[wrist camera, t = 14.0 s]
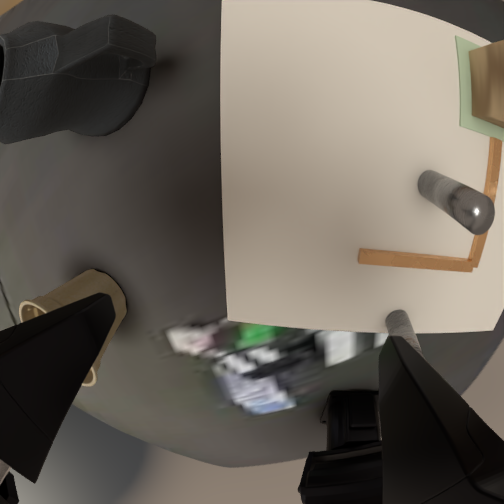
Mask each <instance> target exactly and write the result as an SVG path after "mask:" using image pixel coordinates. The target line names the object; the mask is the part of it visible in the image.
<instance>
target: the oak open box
mask: <svg viewBox="0 0 504 504" xmlns="http://www.w3.org/2000/svg"><path fill="white" fill-rule="evenodd" d="M468 52H469V61H470V73H471V92H472V116H474V117H477V118H479V119H482V120H485V121H487V122H490V123H492V124H494V125H497V126H499V127H501V128H504V40H502V41H498V42H495V43H492V44H489V45H486V46H483V47H480V48H477V49H474V50H471V51H468Z"/></svg>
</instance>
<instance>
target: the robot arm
mask: <svg viewBox="0 0 504 504" xmlns="http://www.w3.org/2000/svg"><path fill="white" fill-rule="evenodd" d="M115 318H116V312H115V309H114V305H113V302H112V298H111V296H110V295H109V294H106V293H102V292H99V293H96V294H93V295H91V296H88V297H86V298H83V299H80V300H78V301H75V302H73V303H70V304H68V305H65V306H62V307H60V308H57V309H55V310H52V311H50V312H47V313H45V314H42V315H40V316H37V317H35V318H32V319H30V320H27V321H25V322H22V323H20V324H18V325H15V326H12V327H10V328H7V329H5V330H2V331H0V504H18V502H19V499H18V495H17V491H16V486H15V481H14V476H13V474H11V473H10V471H9V470H10V468H13V469H14V470H15V471H17V472H18V473H20V474H21V475H22V476H24V477H25V478H27V479H28V480H30V481H31V482H33V483H36V481H37V479H38V476H39V474H40V472H41V469H42V467H43V464H44V462H45V460H46V457H47V455H48V452H49V450H50V448H51V446H52V444H53V441H54V439H55V437H56V435H57V433H58V430H59V428H60V426H61V424H62V422H63V420H64V418H65V416H66V414H67V412H68V410H69V408H70V406H71V404H72V402H73V400H74V398H75V397H76V395H77V393H78V391H79V389H80V387H81V385H82V383H83V382H84V380H85V378H86V376H87V374H88V373H89V371H90V369H91V367H92V365H93V364H94V362H95V360H96V358H97V357H98V355H99V353H100V351H101V349H102V347H103V344H104V342H105V340H106V338H107V336H108V334H109V332H110V329H111V327H112V325H113V323H114V321H115ZM378 411H379V412H380V423H381V436H380V426H379V417H378ZM320 423H322V424H327V450H326V451H320V452H315V451H313V452H309V455H308V458H307V459H306V463H305V467H304V471H303V475H302V478H301V482H300V485H299V487H298V492H299V493H300V494H301V500H302V503H303V504H504V441H503V440H502V439H501V438H500V437H499V436H498V435H497V434H496V433H495V432H494V431H493V430H492V429H491V428H490V427H489V426H488V425H487V424H486V423H485V422H484V421H483V420H482V419H481V418H480V417H479V416H478V415H477V414H476V412H475V411H474V410H473V409H472V408H471V407H470V408H469V405H468V404H467V403H466V402H465V400H464V399H463V398H462V397H461V396H460V395H459V394H458V393H457V392H456V391H455V390H454V389H453V388H452V387H451V385H450V384H449V383H448V382H447V381H446V380H445V379H444V378H443V377H442V376H441V375H440V374H439V373H438V372H437V371H436V370H435V369H434V368H433V367H432V366H431V365H430V364H429V363H428V362H427V361H426V360H425V359H424V358H423V357H422V356H421V355H420V354H419V353H418V352H417V351H416V350H415V349H414V348H413V347H412V346H411V345H410V344H409V343H408V342H407V341H406V340H405V339H404V338H403V337H402V336H399V335H390V336H388V337H387V339H386V341H385V344H384V346H383V348H382V351H381V353H380V355H379V392H331V393H330V395H329V398H328V400H327V403H326V406H325V408H324V411H323V413H322V416H321V418H320ZM381 437H382V440H381Z"/></svg>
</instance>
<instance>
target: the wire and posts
mask: <svg viewBox="0 0 504 504" xmlns="http://www.w3.org/2000/svg"><path fill="white" fill-rule="evenodd" d="M501 153H502V140H499V139H497V138H494V137H490V144H489V156H488V166H487V174H486V181H485V188H484V194H483V193H481V192H479V191H477V190H475V189H473V188H471V187H469V186H467V185H465V184H463V183H460V182H458V181H456V180H454V179H452V178H450V177H447V176H445V175H443V174H440V173H438V172H436V171H433V170H427V171H424V172H423V173H422V174H421V175H420V177H419V179H418V184H417V185H418V190H419V193H420V194H421V195H422V196H423V197H424V198H426V199H427V200H428V201H430V202H431V203H433V204H434V205H435V206H437V207H438V208H440V209H441V210H442V211H444V212H445V213H446V214H448V215H449V216H450V217H452V218H453V219H454V220H456V221H457V222H458V223H460V224H461V225H462V226H463V227H465V228H466V229H467V230H468V231H470V232H471V233H472V234H474V239H473V243H472V247H471V250H470V254H469V257H468V258H459V257H449V256H439V255H428V254H418V253H407V252H397V251H386V250H374V249H363V248H359V254H358V263H359V264H366V265H379V266H392V267H405V268H417V269H430V270H444V271H457V272H470V273H472V271H473V268H478V265H479V262H480V258H481V255H482V252H483V249H484V245H485V242H486V238H487V234H488V230H489V228H490V227H491V225H492V223H493V221H494V217H495V207H494V203H495V198H496V192H497V186H498V180H499V172H500V164H501ZM385 323H386V326H387V330H388V333H389V336H390V335H399V336H402V337H403V338H404V339H405V340H406V341H407V342H408V343H409V344H410V345H411V346H412V347H413V348H414V349H415V350H416V351H417V352H418V353H419V354H420V355H421V356H422V357H423V358H424V356H423V353H422V350H421V348H420V345H419V342H418V340H417V337H416V334H415V332H414V329H413V327H412V324H411V322H410V319H409V317H408V315H407V313H406V311H404V310H401V309H399V310H394V311H392V312H391V313H390V314H389V315H388V316H387V317H386V320H385Z"/></svg>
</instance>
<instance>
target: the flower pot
mask: <svg viewBox="0 0 504 504" xmlns="http://www.w3.org/2000/svg"><path fill="white" fill-rule="evenodd" d="M99 292H102V293H106V294H109V295H110V296H111V298H112V302H113V305H114V309H115V312H116V318H115V321H114V323H113V325H112V327H111V329H110V332H109V334H108V336H107V338H106V340H105V342H104V344H103V347H102V349H101V351H100V353H99V355H98V357H97V358H96V360H95V362H94V364H93V365H92V367H91V369H90V371H89V373H88V374H87V376H86V378H85V380H84V382H83V383H82V386H92V385H94V384H95V383H96V381H97V371H98V369H99V367H100V360H101V358H102V356H103V354H104V352H105V350H106V348H107V346H108V344H109V343H110V341H111V339H112V337H113V335H114V333H115V332H116V330H117V328H118V326H119V325H120V323H121V321H122V320H123V318H124V317H125V315H126V312H127V309H126V301H125V296H124V294H123V292H122V290H121V289H120V287H119V286H118V285H117V283H116V282H115V281H114V280H113V279H112V278H111V277H110V276H108V275H107V274H105V273H101V272H98V271H96V270H94V269H90V270H87V271H85V272H83V273H82V274H80V275H78V276H77V277H75V278H73V279H72V280H70V281H68V282H66V283H65V284H63V285H61V286H60V287H58V288H56V289H54V290H53V291H51V292H49V293H48V294H46V295H45V296H39V297H36V298H35V299H33V300H25V301H23V302H22V303H21V304H20V307H19V315H20V319H21V322H25V321H27V320H30V319H32V318H35V317H37V316H40V315H42V314H45V313H47V312H50V311H52V310H55V309H57V308H60V307H62V306H65V305H68V304H70V303H73V302H75V301H78V300H80V299H83V298H86V297H88V296H91V295H93V294H96V293H99Z"/></svg>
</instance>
